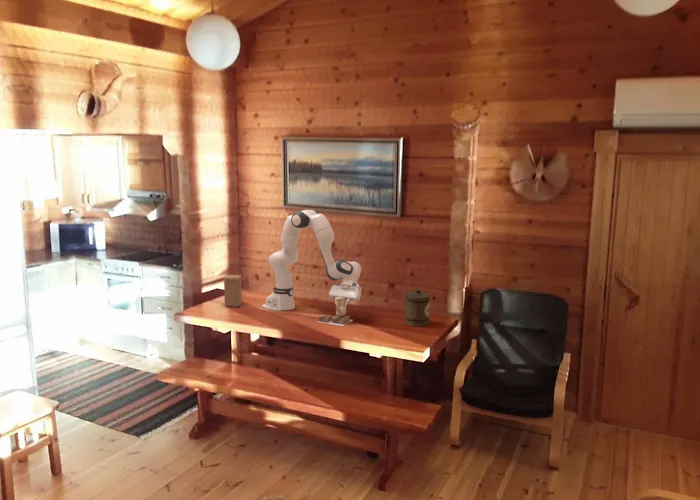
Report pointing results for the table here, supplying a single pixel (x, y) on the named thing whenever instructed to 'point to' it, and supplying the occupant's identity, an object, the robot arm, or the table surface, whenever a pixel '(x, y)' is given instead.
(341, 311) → the birch pillar
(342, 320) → the walnut slab
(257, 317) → the table surface
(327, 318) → the walnut block
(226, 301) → the wooden block
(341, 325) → the blueprint board
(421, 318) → the wooden container
